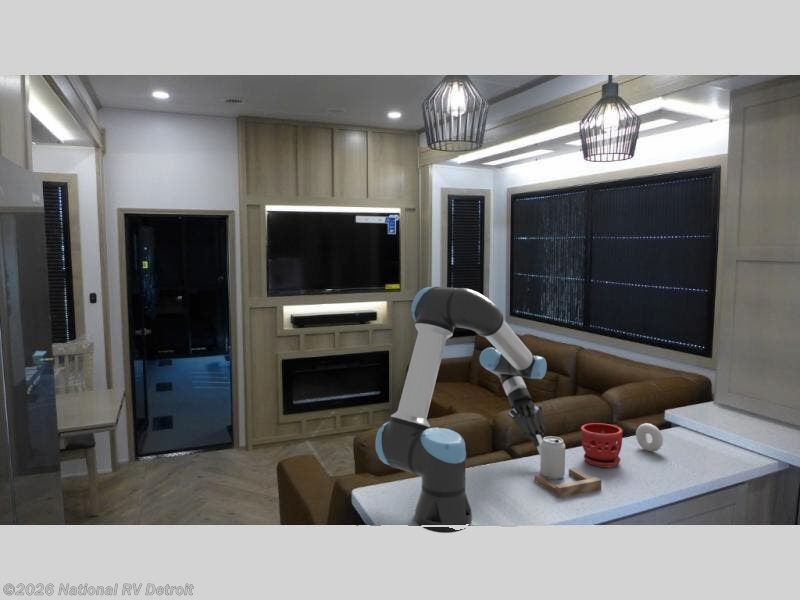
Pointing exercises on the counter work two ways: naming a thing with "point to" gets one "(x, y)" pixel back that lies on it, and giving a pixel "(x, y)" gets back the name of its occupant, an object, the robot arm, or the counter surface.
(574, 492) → the walnut frame
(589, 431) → the plant pot
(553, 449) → the can
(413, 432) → the robot arm
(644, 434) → the donut
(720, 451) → the counter surface
